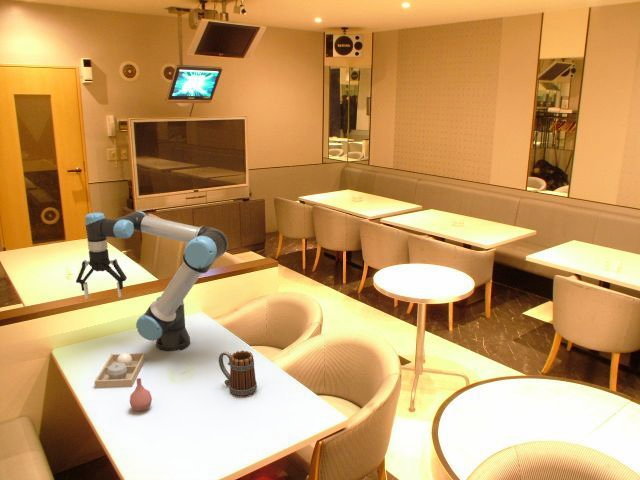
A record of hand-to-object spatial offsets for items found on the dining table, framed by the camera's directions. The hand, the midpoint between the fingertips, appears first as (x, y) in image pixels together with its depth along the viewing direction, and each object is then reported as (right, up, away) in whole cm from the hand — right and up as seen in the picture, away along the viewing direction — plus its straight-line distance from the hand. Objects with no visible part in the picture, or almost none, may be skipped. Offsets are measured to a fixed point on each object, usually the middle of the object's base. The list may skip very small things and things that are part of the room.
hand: (103, 297), depth 235 cm
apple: (+13, -31, -17) cm, 38 cm away
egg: (+12, -28, -7) cm, 31 cm away
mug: (+61, -34, -23) cm, 73 cm away
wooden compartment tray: (+12, -30, -12) cm, 35 cm away
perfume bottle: (+28, -37, -36) cm, 59 cm away
